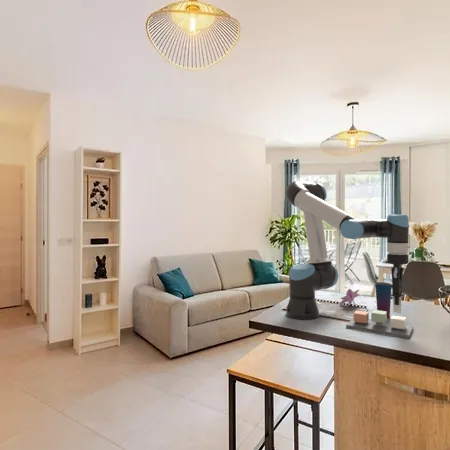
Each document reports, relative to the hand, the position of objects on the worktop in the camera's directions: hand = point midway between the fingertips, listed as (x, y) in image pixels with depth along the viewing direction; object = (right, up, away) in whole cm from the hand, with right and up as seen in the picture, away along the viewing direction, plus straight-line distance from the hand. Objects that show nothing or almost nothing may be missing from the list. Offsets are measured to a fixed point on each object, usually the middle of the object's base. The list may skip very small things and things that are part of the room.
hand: (397, 312), depth 131 cm
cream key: (0, -6, 0) cm, 6 cm away
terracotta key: (-11, -6, +8) cm, 15 cm away
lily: (-4, -7, +38) cm, 39 cm away
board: (-5, -8, +4) cm, 10 cm away
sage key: (-5, -4, +4) cm, 8 cm away
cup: (+4, -7, +20) cm, 22 cm away
